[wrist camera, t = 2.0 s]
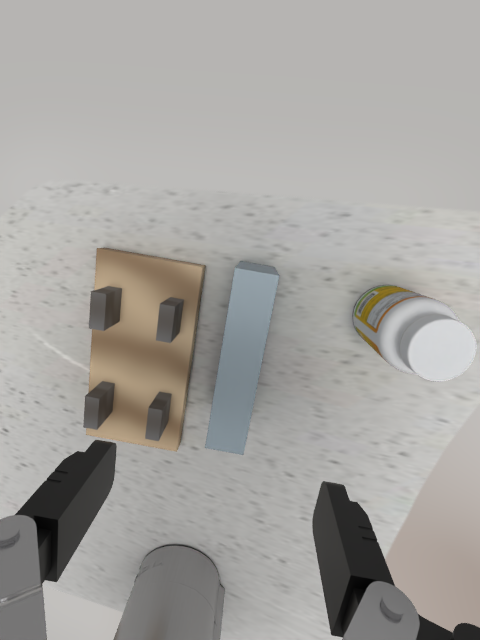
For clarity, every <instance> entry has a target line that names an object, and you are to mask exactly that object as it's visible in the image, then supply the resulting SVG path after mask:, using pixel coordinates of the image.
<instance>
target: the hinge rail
mask: <svg viewBox="0 0 480 640" xmlns="http://www.w3.org/2000/svg"><path fill="white" fill-rule="evenodd" d="M204 272H205V265H199V264H193V263H188V262H182V261H177V260H171V259H165V258H160V257H154V256H148V255H143V254H137V253H131V252H126V251H120V250H114V249H109V248H97V256H96V273H95V290H94V291H91V302H90V320H89V328H90V329H92V342H91V360H90V377H89V393H88V394H87V395H86V396H85V410H84V428H87V429H86V435H90V436H96V437H101V438H107V439H112V440H117V441H123V442H128V443H133V444H139V445H144V446H149V447H155V448H160V449H166V450H171V451H176V452H177V450H178V447H179V445H180V442H181V435H182V428H183V421H184V414H185V407H186V399H187V392H188V385H189V378H190V371H191V364H192V357H193V350H194V343H195V336H196V329H197V322H198V315H199V308H200V301H201V294H202V287H203V280H204Z"/></svg>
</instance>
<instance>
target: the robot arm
mask: <svg viewBox="0 0 480 640" xmlns="http://www.w3.org/2000/svg"><path fill="white" fill-rule="evenodd" d="M115 460H116V443H112V442H106V441H100V440H95V441H94V442H93V443H92V444H91V445H90V447H89V448H88V449H87V450H86V452H79V451H77V452H75V453H74V454H72V455H70V456H69V457H67V458H66V459H64V460H63V461H62V462H61V463H60V465H59V466H58V467H57V468H56V469H55V471H54V472H53V473H52V474H51V475H50V476H49V477H48V478H47V481H45V482H44V483H43V484H42V485H41V486H40V487H39V488H38V489H37V491H36V492H35V493H34V494H33V495H32V496H31V497H30V499H29V500H28V501H27V502H26V503H25V504H24V505H23V506H22V508H21V509H20V510H19V511H18V512H17V513H16V514H15V515H14V516H9V517H6V518H3V519H1V520H0V640H47V635H46V623H45V611H44V598H43V588H42V583H43V582H44V580H48V581H54V582H57V581H58V579H59V578H60V576H61V574H62V572H63V571H64V569H65V567H66V566H67V564H68V562H69V561H70V559H71V557H72V556H73V554H74V552H75V550H76V549H77V547H78V545H79V544H80V542H81V540H82V539H83V537H84V535H85V534H86V532H87V530H88V528H89V527H90V525H91V523H92V522H93V520H94V518H95V517H96V515H97V513H98V511H99V510H100V508H101V506H102V505H103V503H104V501H105V500H106V498H107V496H108V494H109V492H110V490H111V488H112V485H113V481H114V474H115ZM313 536H314V541H315V547H316V552H317V558H318V563H319V569H320V575H321V580H322V586H323V591H324V597H325V602H326V608H327V613H328V619H329V625H330V630H331V635H333V636H339V637H343V639H342V640H480V628H479V627H476V626H475V625H471V624H467V623H461V624H458V625H457V626H456V627H455V629H454V631H453V633H452V632H450V631H448V630H446V629H444V628H442V627H440V626H438V625H436V624H434V623H432V622H430V621H428V620H427V619H425V618H423V617H421V616H420V615H419V614H418V613H417V611H416V609H415V607H414V605H413V604H412V602H411V601H410V600H409V598H408V597H407V596H406V595H405V594H404V593H403V592H402V591H401V590H399V589H398V588H396V587H395V585H394V582H393V580H392V577H391V574H390V572H389V569H388V567H387V564H386V562H385V559H384V556H383V554H382V551H381V549H380V546H379V543H378V542H377V538H376V536H375V533H374V531H373V528H372V525H371V523H370V520H369V518H368V515H367V514H366V513H365V511H364V510H363V509H362V508H361V506H360V505H359V504H358V503H357V502H352V501H350V500H349V498H348V495H347V492H346V489H345V486H344V485H342V484H336V483H331V482H325V481H323V482H322V484H321V488H320V491H319V495H318V499H317V503H316V506H315V510H314V514H313ZM224 594H225V590H224V589H223V588H222V587H221V585H220V583H219V575H218V572H217V569H216V567H215V566H214V564H213V563H212V562H211V561H210V560H209V559H208V558H207V557H206V556H205V555H203V554H202V553H200V552H199V551H196V550H194V549H192V548H188V547H184V546H165V547H162V548H158V549H156V550H154V551H152V552H151V553H150V554H149V555H147V556H146V558H145V559H144V560H143V562H142V564H141V567H140V570H139V572H138V575H137V577H136V579H135V582H134V586H133V589H132V591H131V594H130V597H129V599H128V602H127V604H126V607H125V610H124V613H123V616H122V618H121V621H120V624H119V627H118V629H117V632H116V635H115V637H114V640H220V634H221V624H222V614H223V604H224Z"/></svg>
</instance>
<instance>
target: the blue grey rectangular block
mask: <svg viewBox="0 0 480 640" xmlns="http://www.w3.org/2000/svg"><path fill="white" fill-rule="evenodd" d="M278 280H279V274H278V272H277V271H276V269H275V267H271V266H266V265H260V264H254V263H249V262H243V261H240V262H239V264H238V265H237V266H236V267H235V271H234V277H233V283H232V289H231V295H230V301H229V307H228V313H227V319H226V325H225V331H224V337H223V343H222V349H221V355H220V361H219V367H218V373H217V379H216V385H215V391H214V397H213V403H212V409H211V415H210V421H209V427H208V433H207V439H206V445H205V448H208V449H214V450H219V451H225V452H230V453H235V454H241V455H243V454H244V449H245V444H246V439H247V434H248V429H249V424H250V419H251V414H252V409H253V404H254V399H255V394H256V389H257V384H258V379H259V374H260V369H261V365H262V360H263V355H264V350H265V345H266V340H267V335H268V330H269V325H270V320H271V315H272V310H273V305H274V300H275V295H276V290H277V285H278Z"/></svg>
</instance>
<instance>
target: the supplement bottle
mask: <svg viewBox="0 0 480 640" xmlns="http://www.w3.org/2000/svg"><path fill="white" fill-rule="evenodd" d="M353 322H354V326H355V329H356V331H357V332H358V334H359V335H360V336H361V337H362V338H363V339H364V340H365V341H366V342H367V343H368V344H369V345H370V346H371V347H372V348H373V349H374V350H375V351H376V352H377V353H378V354H379V355H380V356H381V357H382V358H383V359H384V360H385V361H386V362H388V363H389V364H390V365H391V366H393V367H394V368H396V369H398V370H400V371H402V372H405V373H410V374H417V375H418V376H420V377H421V378H423V379H426V380H429V381H437V382H441V381H447V380H451V379H453V378H455V377H457V376H459V375H461V374H462V373H463V372H464V371H465V370H466V369H467V368H468V367H469V366H470V365H471V363H472V361H473V359H474V357H475V354H476V340H475V337H474V334H473V332H472V331H471V330H470V328H469V327H467V326H466V325H465V324H464V323H462V322H460V320H459V318H458V316H457V315H456V313H455V312H454V311H453V310H452V309H451V308H450V307H449V306H447V305H446V304H444V303H442V302H440V301H438V300H435V299H433V298H430V297H427V296H424V295H421V294H418V293H415V292H412V291H409V290H406V289H403V288H400V287H397V286H392V285H383V286H378V287H375V288H373V289H371V290H369V291H367V292H366V293H365V294H364V295H362V296H361V298H360V299H359V300H358V302H357V304H356V306H355V308H354V312H353Z"/></svg>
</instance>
